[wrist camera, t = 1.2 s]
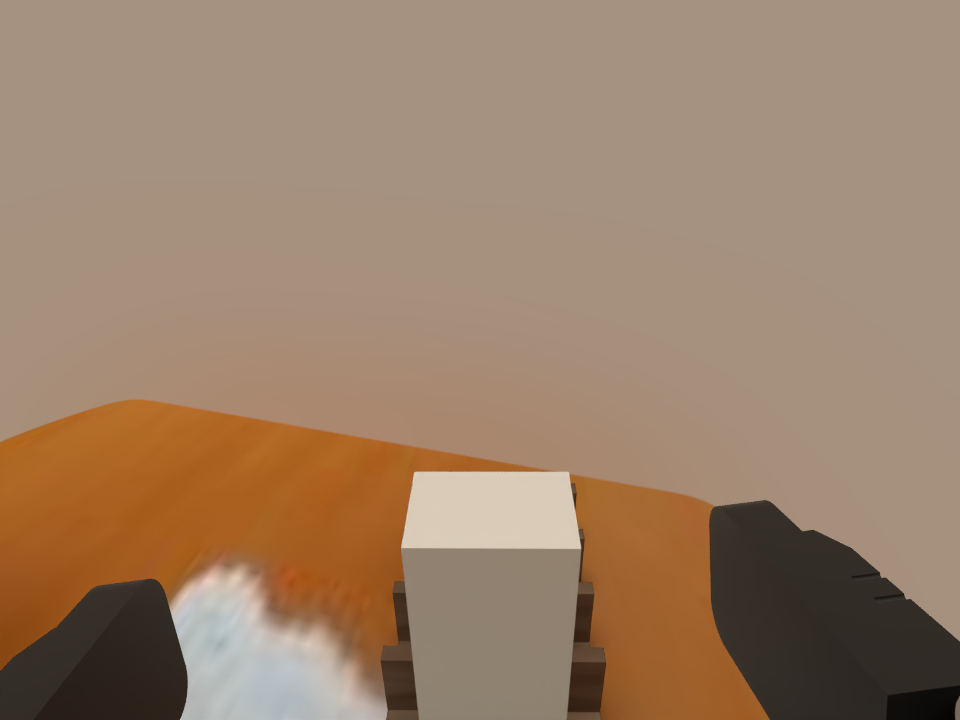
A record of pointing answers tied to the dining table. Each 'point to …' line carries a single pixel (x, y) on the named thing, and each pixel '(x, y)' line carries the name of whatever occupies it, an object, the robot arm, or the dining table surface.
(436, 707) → the beige tall block
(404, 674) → the rack
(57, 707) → the robot arm
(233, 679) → the dining table surface
